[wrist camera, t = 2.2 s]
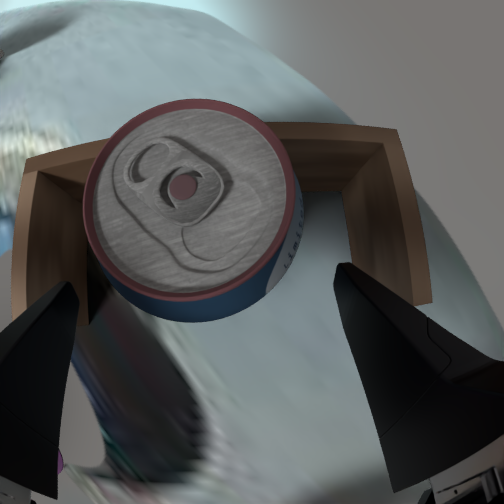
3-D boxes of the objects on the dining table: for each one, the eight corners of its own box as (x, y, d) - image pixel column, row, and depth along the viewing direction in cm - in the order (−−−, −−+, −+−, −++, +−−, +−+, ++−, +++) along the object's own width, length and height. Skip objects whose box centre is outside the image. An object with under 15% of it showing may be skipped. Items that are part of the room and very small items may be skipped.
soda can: (289, 250, 19) (365, 170, 7) (223, 335, 18) (203, 386, 6) (207, 188, 20) (180, 56, 8) (141, 267, 18) (28, 214, 7)
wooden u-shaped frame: (371, 305, 19) (432, 302, 12) (75, 324, 17) (12, 328, 11) (353, 178, 20) (396, 129, 14) (77, 198, 19) (26, 158, 12)
